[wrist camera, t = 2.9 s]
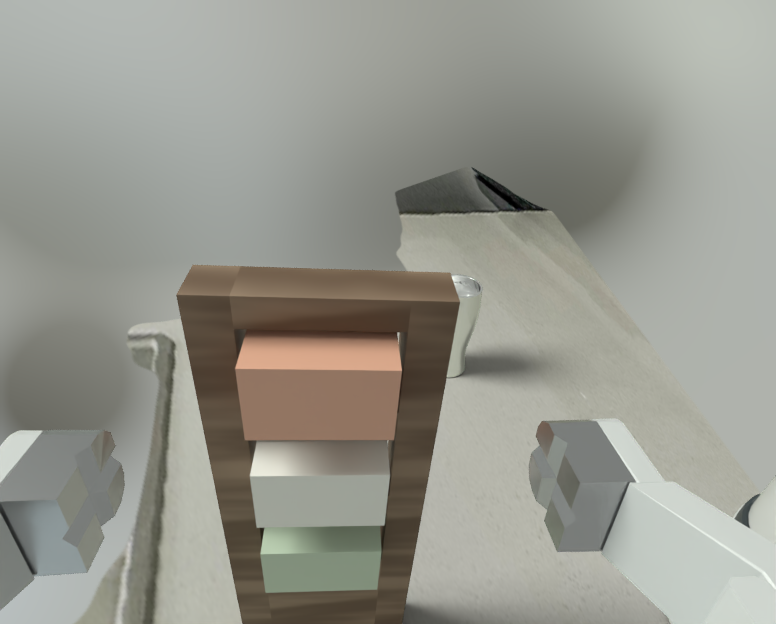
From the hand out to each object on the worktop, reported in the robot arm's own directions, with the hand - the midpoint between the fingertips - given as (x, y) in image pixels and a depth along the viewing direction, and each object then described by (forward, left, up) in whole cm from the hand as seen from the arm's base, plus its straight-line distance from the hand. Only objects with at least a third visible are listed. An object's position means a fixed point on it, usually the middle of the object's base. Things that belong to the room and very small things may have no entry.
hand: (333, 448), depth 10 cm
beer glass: (+38, -41, -43) cm, 70 cm away
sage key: (+12, -6, -29) cm, 32 cm away
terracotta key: (+12, -6, -13) cm, 19 cm away
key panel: (+14, -7, -43) cm, 46 cm away
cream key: (+12, -6, -21) cm, 25 cm away
